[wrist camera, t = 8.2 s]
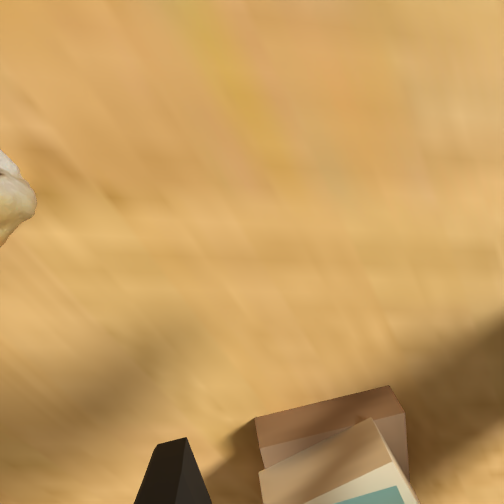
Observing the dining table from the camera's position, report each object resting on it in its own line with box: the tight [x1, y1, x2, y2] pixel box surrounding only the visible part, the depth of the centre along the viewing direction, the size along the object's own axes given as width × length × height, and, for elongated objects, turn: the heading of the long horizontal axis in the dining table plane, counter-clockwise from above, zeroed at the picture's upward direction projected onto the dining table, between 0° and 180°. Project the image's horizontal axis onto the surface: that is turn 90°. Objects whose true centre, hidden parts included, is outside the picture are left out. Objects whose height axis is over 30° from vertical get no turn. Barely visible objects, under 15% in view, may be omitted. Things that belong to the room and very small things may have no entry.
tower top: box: [258, 417, 421, 504], centre depth 22 cm, size 6×6×2 cm
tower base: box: [254, 386, 410, 482], centre depth 24 cm, size 7×7×2 cm
